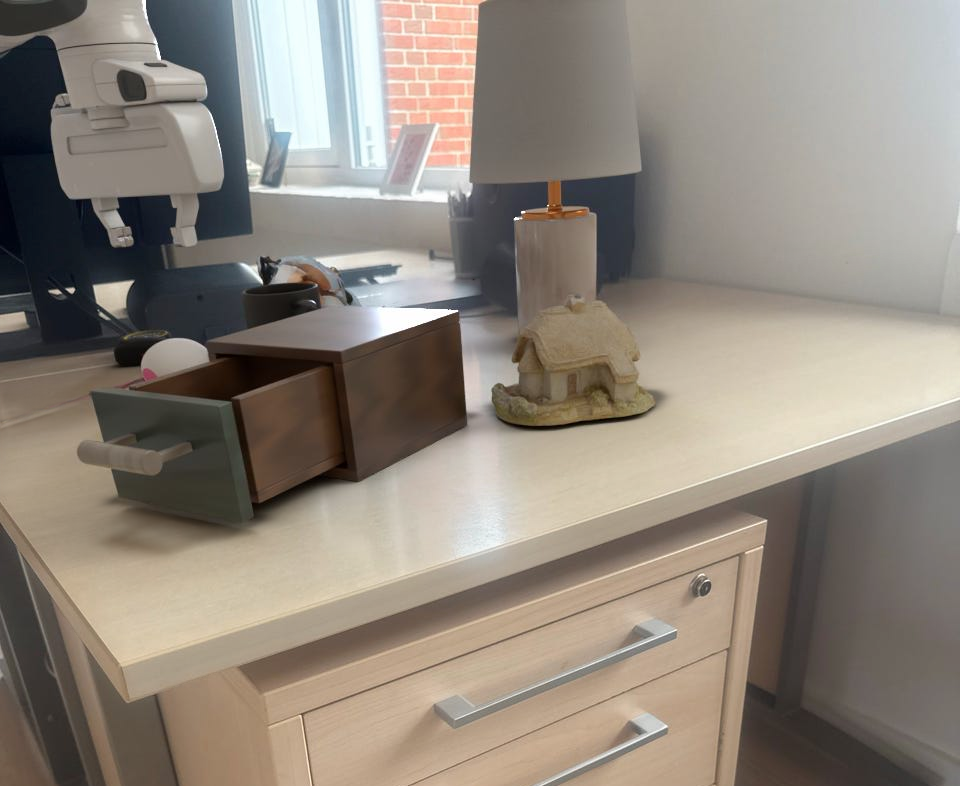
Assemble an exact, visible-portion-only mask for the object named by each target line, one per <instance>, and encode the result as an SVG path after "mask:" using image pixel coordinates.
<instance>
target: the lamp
mask: <svg viewBox="0 0 960 786" xmlns="http://www.w3.org/2000/svg"><path fill="white" fill-rule="evenodd" d="M477 7H478V9H477V10H478V12H477V13H478V15H477V35H476V49H475V50H476V52H475V65H474V67H475V68H474V83H473V98H472V99H473V100H472V117H471V137H470V139H471V140H470V155H469V156H470V157H469V175H468V176H469V177H468V182H469V183H470V184H477V185H479V184H480V185H500V184H501V185H502V184H524V183H525V184H527V183H529V184H530V183H546V182H547V197H548V199H547V201H548V203H547V204H548V205H547V207H538V208H531V209H525V210H522V211H521V212H520V213H521V215H520V216H516V217H515V218H513V231H514V232H513V233H514V256H515V257H514V258H515V281H516V282H515V283H516V303H517V305H516V307H517V325H518V326H517V328H518V331H517V332H518V335H519V334H520V333H521V331H522V329H523V328H524V327H527V326H528V324H529V323H531V322H532V321H533V320H534V318H535V317H537V316H538V315H539V311H540V310H545V309H547V308H551V307H555V306H565V304H566V299H567V296H568V295H574V294H578V295H582V296H583V297H584V298H585V302H588V301H598V300H597V299H598V298H597V297H598V296H597V295H598V294H597V290H598V289H597V287H598V286H597V280H598V279H597V278H598V277H597V274H598V273H597V269H598V267H597V261H598V260H597V259H598V258H597V256H598V255H597V248H598V247H597V245H598V244H597V240H598V239H597V233H598V232H597V225H598V224H597V223H598V221H597V220H598V219H597V213H595V212H592V211H590V207H588V206H581V205H580V206H579V205H577V206H575V205H570V206H569V205H568V206H563V204H562V185H561V184H562V182H563V181H574V180H585V179H586V180H587V179H596V178H597V179H598V178H607V177H608V178H609V177H617V176H625V175H632V174H637V173H641V172H642V170H643V168H642V157H641V156H642V155H641V147H640V135H639V125H638V113H637V104H636V93H635V83H634V72H633V64H632V63H633V62H632V55H631V45H630V33H629V27H628V26H629V25H628V15H627V3H626V0H484V1H481V2H480V3H479V4H478V6H477Z"/></svg>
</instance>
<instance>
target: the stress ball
mask: <svg viewBox="0 0 960 786" xmlns="http://www.w3.org/2000/svg"><path fill="white" fill-rule="evenodd" d="M206 362H209V358H208V352H207V347H206V346H204V345H202V343H199V342H198V341H195V340H192V339H189V338H183V337H173V339H167V340H164V341H161V342H159V343H157V344H155V345H153V346H152V347H151V348H150V349H149V350H148V351H147V352H146V353H145V355H143V359H142V362H141V365H140V371H141V374H142V377H143V378H144V381H147V380H150V379H154V378H157V377H160V376H164V375H167V374H170V373H173V372H177V371H180V370H183V369H187V368H190V367H193V366H196V365H200V364H203V363H206Z"/></svg>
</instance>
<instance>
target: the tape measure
mask: <svg viewBox="0 0 960 786" xmlns="http://www.w3.org/2000/svg"><path fill="white" fill-rule="evenodd" d="M173 338H174V336H173V335H172V334H171V333H170V332H169V331H167V330H161V329H160V330H159V329H158V330H157V329H155V330H144V331H137V332H136V331H135V332H131V333H127V334H124V335H122V336H120V337H119V338H117V340H116V343H115V346H114V349H113V356H114V359H115V362H116V363H117V364H118V365H119V366H120V367H125V368H127V367H128V368H129V367H139V366H141V362H142V359H143V355H145V353H146V352H147V351H148V350H149V349H150V348H151V347H152V346H153V345H155V344H157V343H159V342H161V341H164V340H167V339H173Z"/></svg>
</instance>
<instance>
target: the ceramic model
mask: <svg viewBox="0 0 960 786" xmlns="http://www.w3.org/2000/svg"><path fill="white" fill-rule="evenodd" d="M640 359H641V352H640V350H639V347H638V341H637V340H636V337H635V335H634V333H633V332H632V330H631V328H630V327H629V326H627V325H625V324H624V323H623V322H622V321H621V320H620V319H619V317H617V316H616V314H615V313H614V312H613V311H611V309H610V308H609V307H608V306H607V303H606V302H605V301H602V300H597V301H588V302H585V298H584V297H583V296H582V295H578V294H574V295H568V296H567V299H566V304H565V306H555V307H551V308H547V309H545V310H540V311H539V315H538V316H537V317H535V318H534V320H533V321H532V322H531V323H529V324H528V326H527V327H524V328H523V329H522V331H521V333H520V334H519V333H518V337H517V340H516V342H515V346H514V348H513V350H512V355H511V363H512V364H518V365H517V368H516V369H517V372H518V383H514V384H510V385H506V386H505V385H504V384H503V383H501V382H497V383H495V384H494V385H493V386H492V387H491V390H490V392H491V402H492V403H491V404H492V405H493V406H494V410H495V411H494V412H496V417H498V418H499V419H500V420H503V421H504V422H506V423H510V424H515V425H522V426H531V427H535V426H536V427H537V426H538V427H539V426H540V427H541V426H558V425H566V424H567V425H568V424H571V423H577V422H580V421H581V422H582V421H583V422H585V421H593V420H600V419H610V418H622V417H629V416H633V415H637V414H638V415H639V414H643V413H645V412H648V411H649V409H650V410H651V408H652V407H654V406H655V404H656V401H655V399H654V396H653V395H652V394H650V393H649V392H648V391H647V390H646V389H645V388H644V387H643V386H641V385H639V384H638V383H637V382H638V381H639V376H640V372H639V370H638V367H637V366H636V364H635V362H637V361H640Z"/></svg>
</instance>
